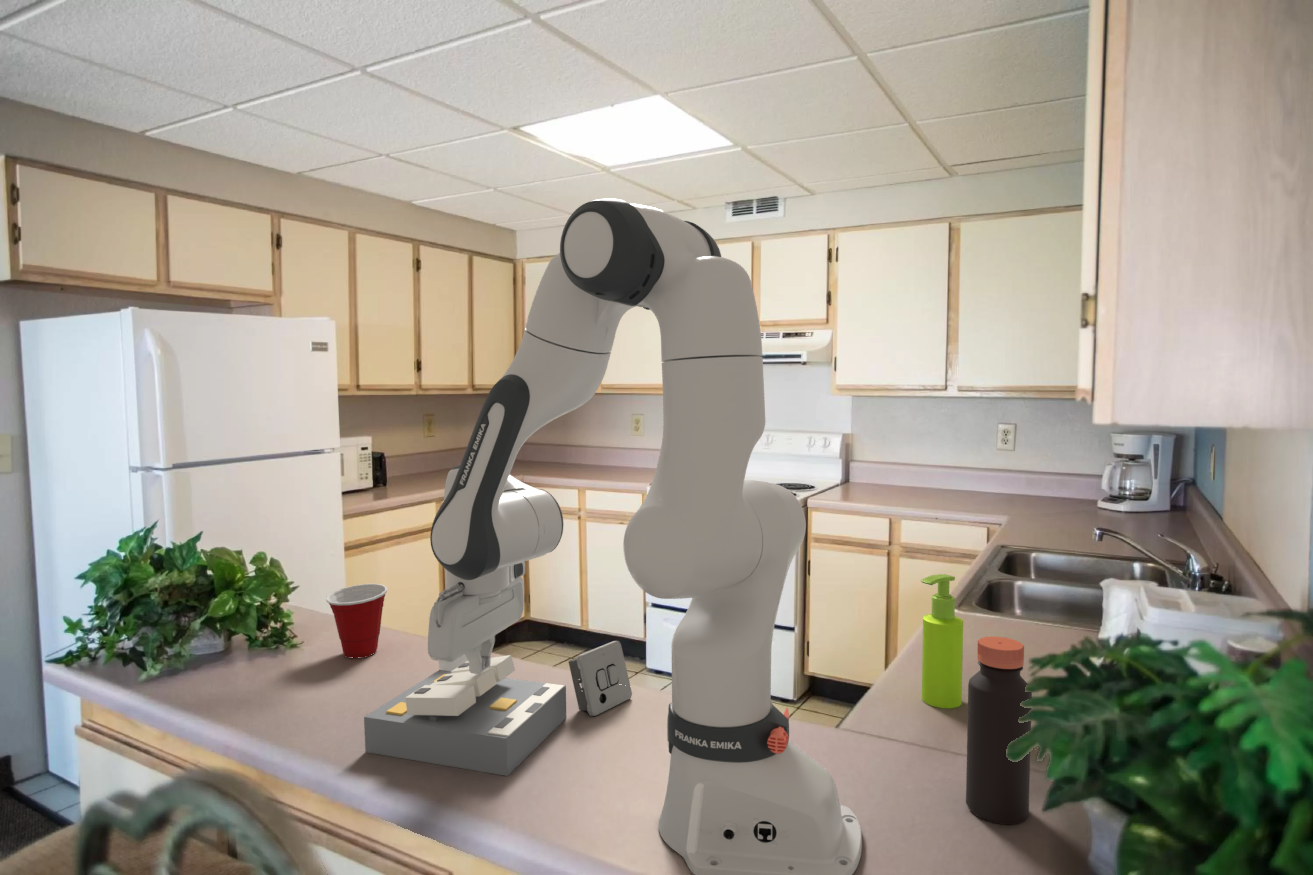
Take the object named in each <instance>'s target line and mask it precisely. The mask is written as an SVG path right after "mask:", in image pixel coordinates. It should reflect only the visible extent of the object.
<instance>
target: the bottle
mask: <svg viewBox="0 0 1313 875" xmlns="http://www.w3.org/2000/svg"><path fill="white" fill-rule="evenodd" d="M1024 658H1025V645H1024V644H1023V643H1022V642H1020V641H1018V640H1016V639H1013V638H1008V637H1005V636H1004V637H1001V636H985V637H981V638H978V640H977V664H978V666H980V667H979V668H980V670H979V671H977V672H976V673H975V674H974V675H972V676H971V677H970V678H969V679H968V683H967V684H968V687H967V688H968V689H967V727H966V728H967V729H966V730H967V732H966V733H967V736H966V737H967V740H966V776H965V777H966V781H965V783H966V784H965V786H966V789H965V803H966V806H967V807H968V809H969V810H970V811H971V812H972V813H973V814H974V815H975V816H977V817H979V818H981V819H983V820H985V821H988V822H990V823H996V824H999V825H1017V824H1020V823H1022V822H1024V821H1026V819H1027V818H1028V817H1029V815H1030V814H1029V812H1030V811H1029V810H1030V809H1029V808H1030V777H1031V776H1030V775H1031V774H1030V773H1031V751H1030V752H1029V754H1027V755H1026V756H1025V757H1024V758H1023V759H1022V760H1020V761H1018V762H1012V761H1010V760H1008V758H1007V757H1006V749H1007V746H1008V744H1009V743H1010V742H1011V741H1013V740H1015V739H1016V738H1019V737H1020V736H1022V735H1023V734H1025V733H1026V732H1028V731H1030V730H1031V731H1032V720H1031V721H1028V722H1024V723H1019V722H1018V719H1019V717H1022V716H1024V715H1025V714H1027V713H1028V712H1029V711H1030V710H1031V711H1032V708H1024V707H1022V706H1020V703H1021V702H1022V701H1025V700H1027V699H1032V700H1033V692H1025V687H1026V685H1029V684H1028V683H1027V681H1026V680H1025V679H1024V678H1023V677H1022V676H1021V672H1022V671H1023V670H1024V664H1025V663H1024Z"/></svg>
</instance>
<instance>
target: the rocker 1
mask: <svg viewBox="0 0 1313 875" xmlns="http://www.w3.org/2000/svg"><path fill="white" fill-rule="evenodd" d="M405 699H406V707H407V714H408V715H443V716H459V715H460V714H461V713H463V712H464V711H465V710H467V709H468V708H469V707H471V706H472V705H473V704H475V703H476V697H475V689H474V685H424V686H423V687H421V688H419V689H418V690H416V691H415V692H413V693H412V694H410V695H408V696H407V697H405Z"/></svg>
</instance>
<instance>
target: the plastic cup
mask: <svg viewBox="0 0 1313 875" xmlns="http://www.w3.org/2000/svg"><path fill="white" fill-rule="evenodd" d="M387 592H388V587H387V586H386V585H384V584H379V583H362V584H356V585H350V586H347V587H342V588H340V589H336V590H334V591H331V592H330V593H328V595H326V598H325V601H326V603H328V604H329V606H330V609H331V611H332V614H333V617H334V621H335V626H336V629H337V633H338V637H339V640H340V643H341V648H342V653H343V655H345V656H346V657H345V656H344V657H345V658H347V657H353V658H352V659H359V658H358V657H364V658H366V657H365V656H368V657H370V656H369V655H371V654H373V653H375V652H376V653H377V649H378V647H379V645H378V644H379V639H380V638H379V637H380V635H381V634H380V633H381V626H382V625H381V624H382V615H383V607H384V602H385V597H386V594H387ZM376 653H375V654H376ZM373 655H374V654H373ZM371 656H372V655H371Z"/></svg>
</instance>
